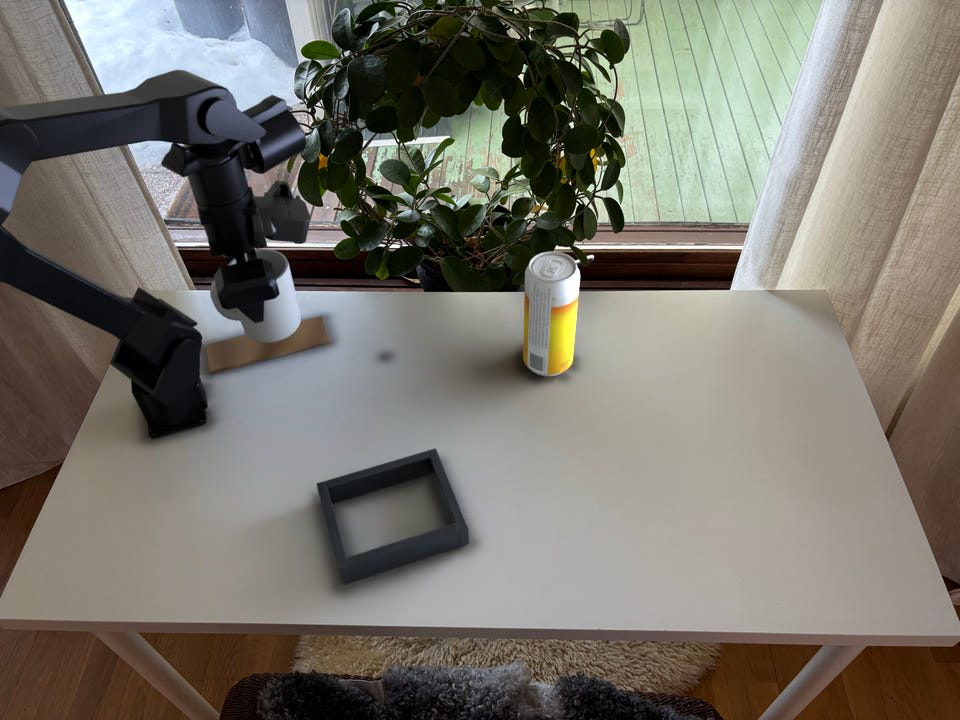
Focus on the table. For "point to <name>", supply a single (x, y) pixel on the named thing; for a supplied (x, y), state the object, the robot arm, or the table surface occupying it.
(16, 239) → the robot arm
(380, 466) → the rectangular frame
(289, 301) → the cup
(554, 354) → the beer can
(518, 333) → the table surface
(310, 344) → the cork mat
